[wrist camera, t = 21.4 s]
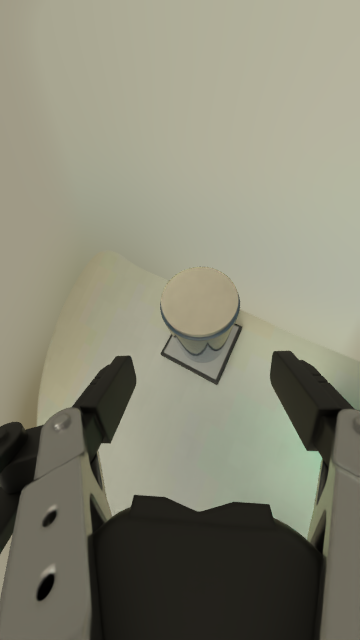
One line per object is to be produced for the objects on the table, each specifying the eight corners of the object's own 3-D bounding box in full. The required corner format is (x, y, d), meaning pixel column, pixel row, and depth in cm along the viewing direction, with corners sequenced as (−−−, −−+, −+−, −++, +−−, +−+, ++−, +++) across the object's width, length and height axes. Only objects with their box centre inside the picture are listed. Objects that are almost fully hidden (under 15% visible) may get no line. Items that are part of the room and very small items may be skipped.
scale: (161, 355, 24) (159, 353, 22) (188, 307, 26) (187, 302, 24) (216, 384, 21) (217, 384, 20) (241, 329, 23) (243, 325, 22)
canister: (175, 359, 22) (149, 332, 12) (183, 316, 24) (166, 262, 14) (223, 366, 21) (239, 343, 11) (226, 321, 23) (243, 266, 13)
